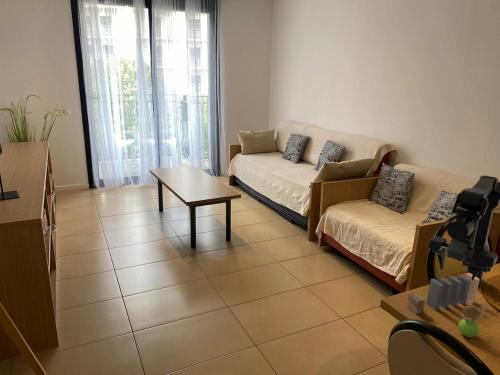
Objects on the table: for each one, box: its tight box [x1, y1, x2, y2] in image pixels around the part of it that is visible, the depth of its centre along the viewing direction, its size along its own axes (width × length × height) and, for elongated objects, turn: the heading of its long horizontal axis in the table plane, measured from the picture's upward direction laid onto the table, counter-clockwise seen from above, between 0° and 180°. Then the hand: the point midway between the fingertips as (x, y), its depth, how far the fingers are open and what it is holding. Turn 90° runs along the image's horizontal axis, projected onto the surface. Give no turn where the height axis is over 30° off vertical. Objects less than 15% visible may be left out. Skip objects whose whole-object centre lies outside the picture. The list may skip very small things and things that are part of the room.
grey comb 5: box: [425, 278, 444, 311], centre depth 129 cm, size 1×4×10 cm, turn 16°
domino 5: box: [465, 272, 480, 304], centre depth 133 cm, size 1×4×10 cm, turn 16°
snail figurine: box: [457, 301, 489, 338], centre depth 114 cm, size 5×6×12 cm
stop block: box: [406, 292, 426, 315], centre depth 127 cm, size 3×4×5 cm
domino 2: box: [438, 277, 453, 309], centre depth 130 cm, size 1×4×10 cm, turn 16°
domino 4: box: [456, 273, 471, 306], centre depth 132 cm, size 1×4×10 cm, turn 16°
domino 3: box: [447, 275, 462, 308], centre depth 131 cm, size 1×4×10 cm, turn 16°
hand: (456, 274), depth 122 cm, fingers open, 9 cm apart
